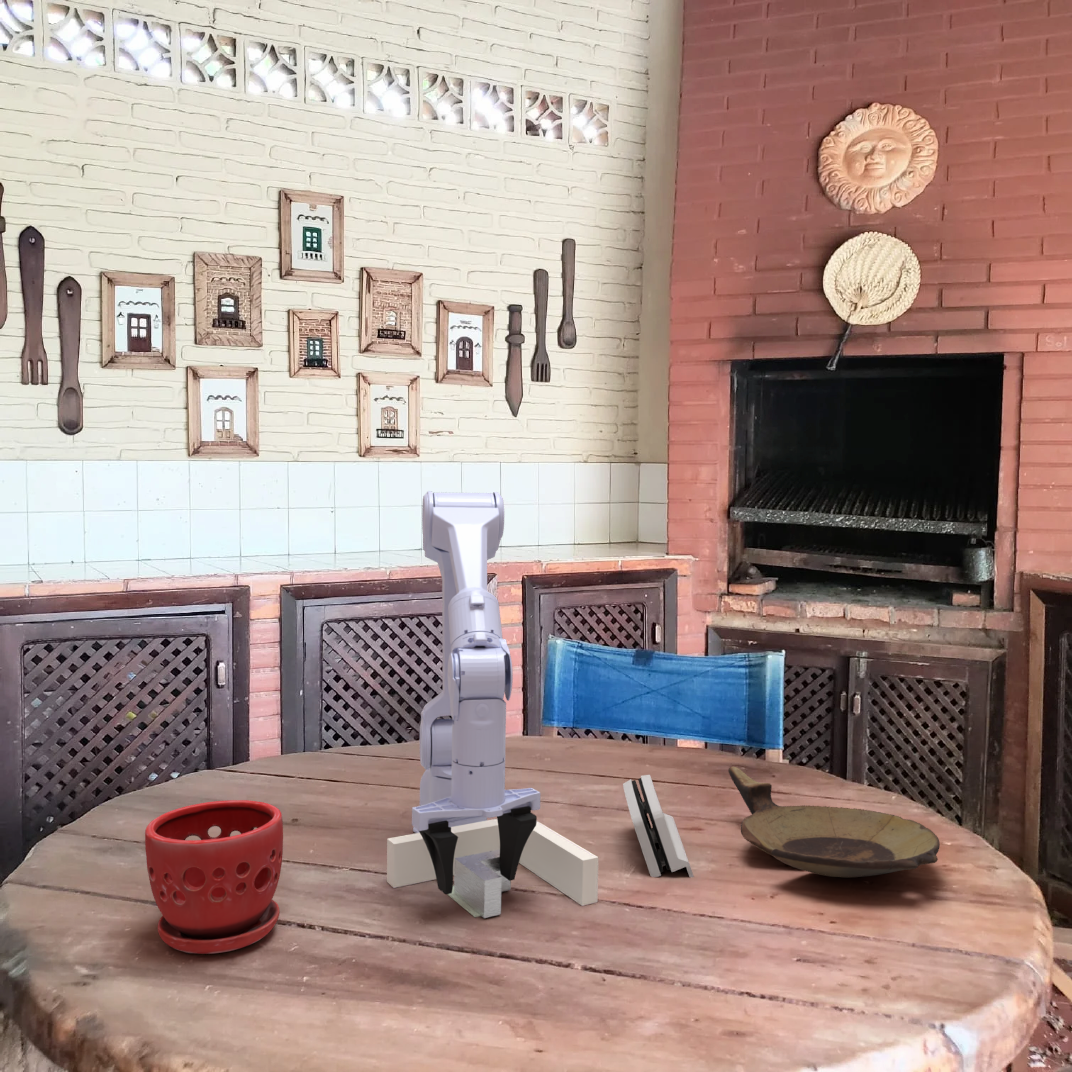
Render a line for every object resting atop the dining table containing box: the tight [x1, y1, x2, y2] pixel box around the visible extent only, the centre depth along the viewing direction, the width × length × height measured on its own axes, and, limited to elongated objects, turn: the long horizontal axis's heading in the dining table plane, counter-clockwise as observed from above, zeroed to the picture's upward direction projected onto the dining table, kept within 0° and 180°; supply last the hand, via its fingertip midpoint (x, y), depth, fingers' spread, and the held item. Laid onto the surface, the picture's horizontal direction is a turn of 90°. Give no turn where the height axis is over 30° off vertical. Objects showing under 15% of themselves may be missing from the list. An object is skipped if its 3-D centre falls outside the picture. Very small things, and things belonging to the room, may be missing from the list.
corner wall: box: [386, 818, 599, 907], centre depth 113 cm, size 16×18×5 cm
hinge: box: [622, 774, 695, 878], centre depth 126 cm, size 17×5×10 cm, turn 179°
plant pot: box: [144, 799, 284, 955], centre depth 102 cm, size 13×13×12 cm
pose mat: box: [446, 885, 482, 918], centre depth 112 cm, size 8×7×1 cm
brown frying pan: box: [727, 765, 941, 879], centre depth 125 cm, size 22×30×8 cm
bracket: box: [453, 849, 512, 919], centre depth 110 cm, size 7×6×4 cm
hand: (476, 883), depth 109 cm, fingers open, 7 cm apart
